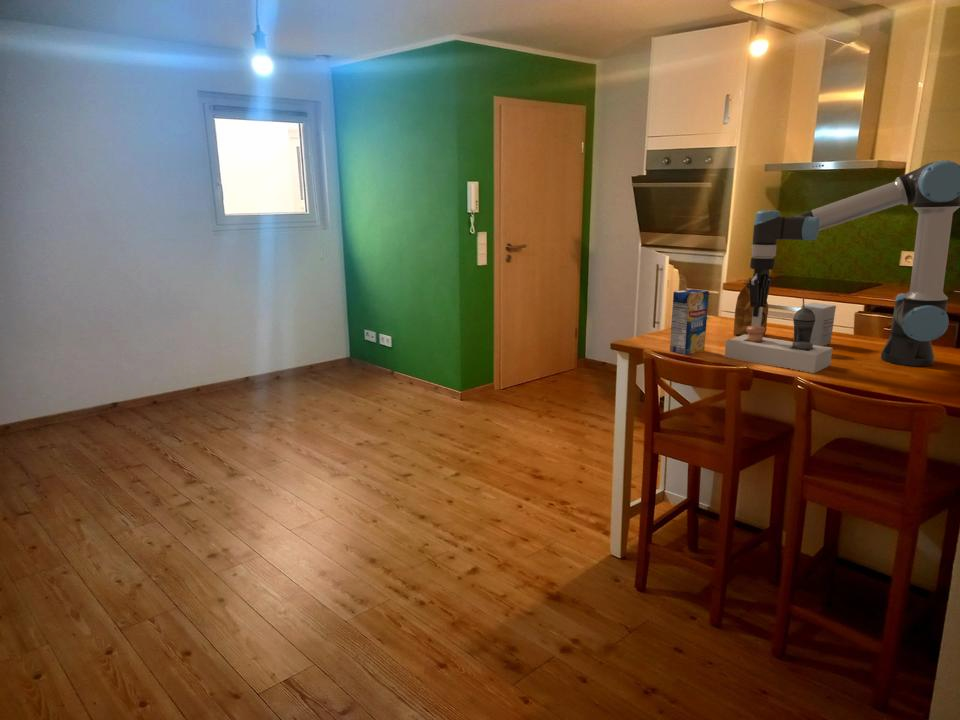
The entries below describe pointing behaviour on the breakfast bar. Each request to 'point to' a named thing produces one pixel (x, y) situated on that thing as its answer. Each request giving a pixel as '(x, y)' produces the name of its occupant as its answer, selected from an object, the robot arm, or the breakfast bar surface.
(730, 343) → the plunger panel
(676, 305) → the beverage box
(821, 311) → the supplement box
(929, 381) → the breakfast bar surface
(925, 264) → the robot arm
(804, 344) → the charcoal plunger
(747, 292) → the coffee package
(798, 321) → the beverage cup
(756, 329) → the terracotta plunger
